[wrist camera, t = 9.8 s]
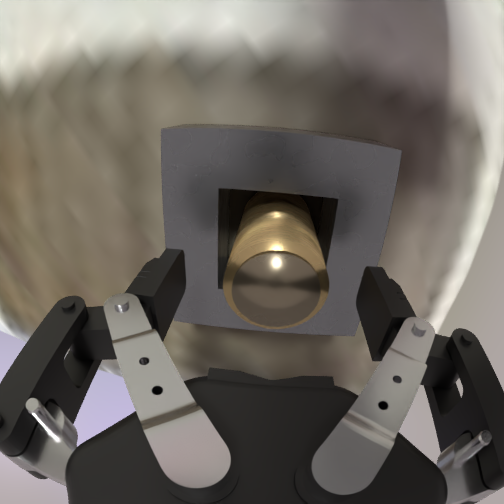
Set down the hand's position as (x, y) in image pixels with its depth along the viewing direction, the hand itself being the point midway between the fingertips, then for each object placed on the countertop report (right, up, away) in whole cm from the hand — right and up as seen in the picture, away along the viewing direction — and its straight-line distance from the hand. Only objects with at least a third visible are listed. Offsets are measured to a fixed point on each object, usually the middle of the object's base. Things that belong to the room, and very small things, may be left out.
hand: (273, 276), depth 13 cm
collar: (+1, +3, +6) cm, 7 cm away
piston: (+1, +3, +6) cm, 7 cm away
